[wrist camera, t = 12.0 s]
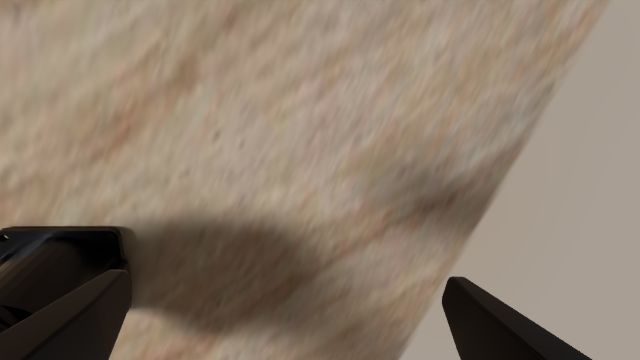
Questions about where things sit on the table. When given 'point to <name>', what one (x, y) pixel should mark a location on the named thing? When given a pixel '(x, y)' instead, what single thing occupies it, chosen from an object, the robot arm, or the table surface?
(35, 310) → the robot arm
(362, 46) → the table surface
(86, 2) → the table surface
